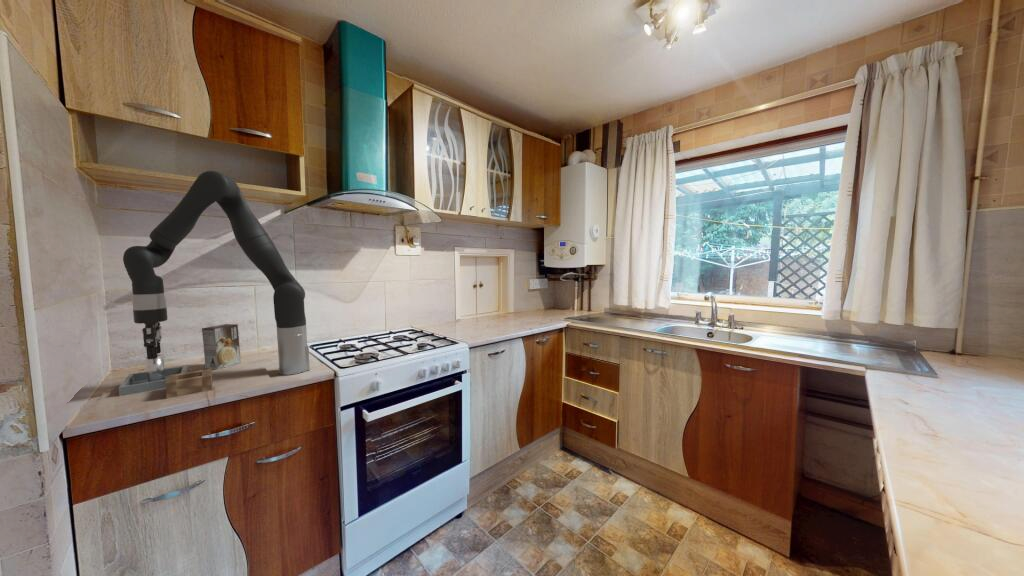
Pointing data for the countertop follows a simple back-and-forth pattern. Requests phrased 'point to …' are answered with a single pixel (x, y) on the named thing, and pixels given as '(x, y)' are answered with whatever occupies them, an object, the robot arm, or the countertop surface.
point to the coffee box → (221, 346)
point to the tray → (146, 381)
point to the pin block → (189, 383)
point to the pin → (155, 369)
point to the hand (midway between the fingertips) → (154, 356)
